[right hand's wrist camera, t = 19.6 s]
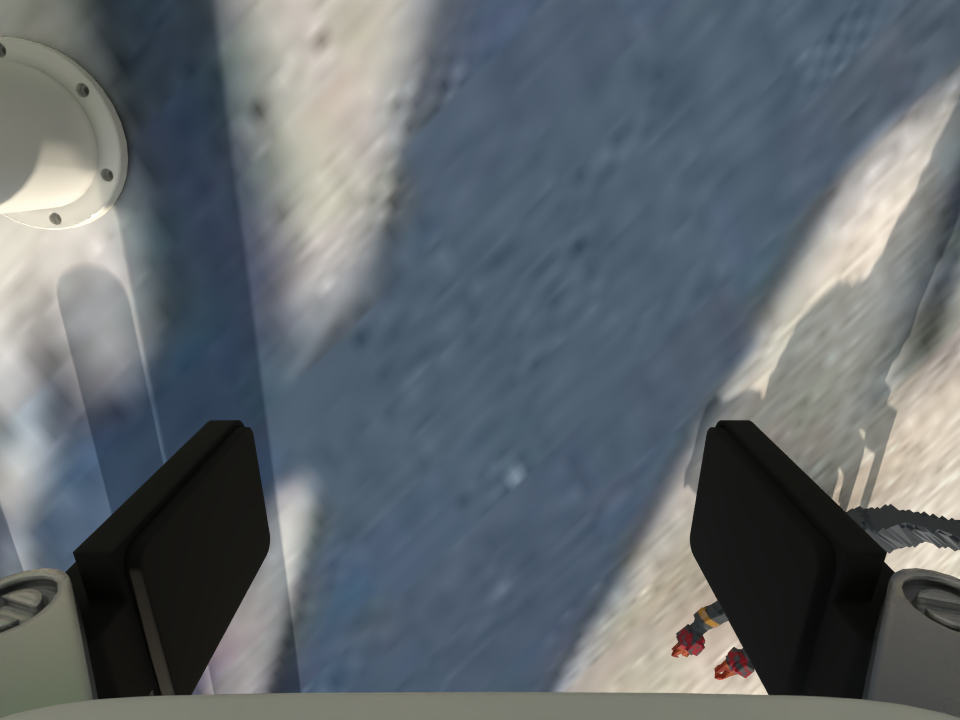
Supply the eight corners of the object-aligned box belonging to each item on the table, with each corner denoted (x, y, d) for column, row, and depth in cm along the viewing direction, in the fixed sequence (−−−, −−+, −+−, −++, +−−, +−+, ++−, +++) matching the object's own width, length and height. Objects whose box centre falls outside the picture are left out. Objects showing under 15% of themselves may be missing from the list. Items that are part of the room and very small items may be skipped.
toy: (940, 494, 50) (1184, 671, 32) (729, 667, 57) (836, 886, 40) (842, 415, 47) (1053, 565, 30) (634, 609, 54) (706, 817, 37)
